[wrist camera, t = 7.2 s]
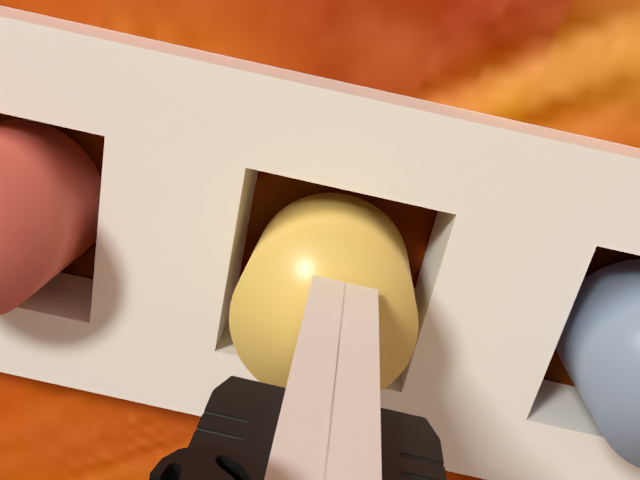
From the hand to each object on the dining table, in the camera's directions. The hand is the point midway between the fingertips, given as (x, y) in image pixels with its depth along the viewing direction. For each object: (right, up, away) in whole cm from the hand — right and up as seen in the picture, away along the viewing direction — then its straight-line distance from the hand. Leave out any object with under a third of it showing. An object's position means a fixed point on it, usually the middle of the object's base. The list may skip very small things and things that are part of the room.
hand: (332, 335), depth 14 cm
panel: (0, +2, +5) cm, 5 cm away
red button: (-9, +3, +4) cm, 10 cm away
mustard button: (0, +1, +4) cm, 4 cm away
